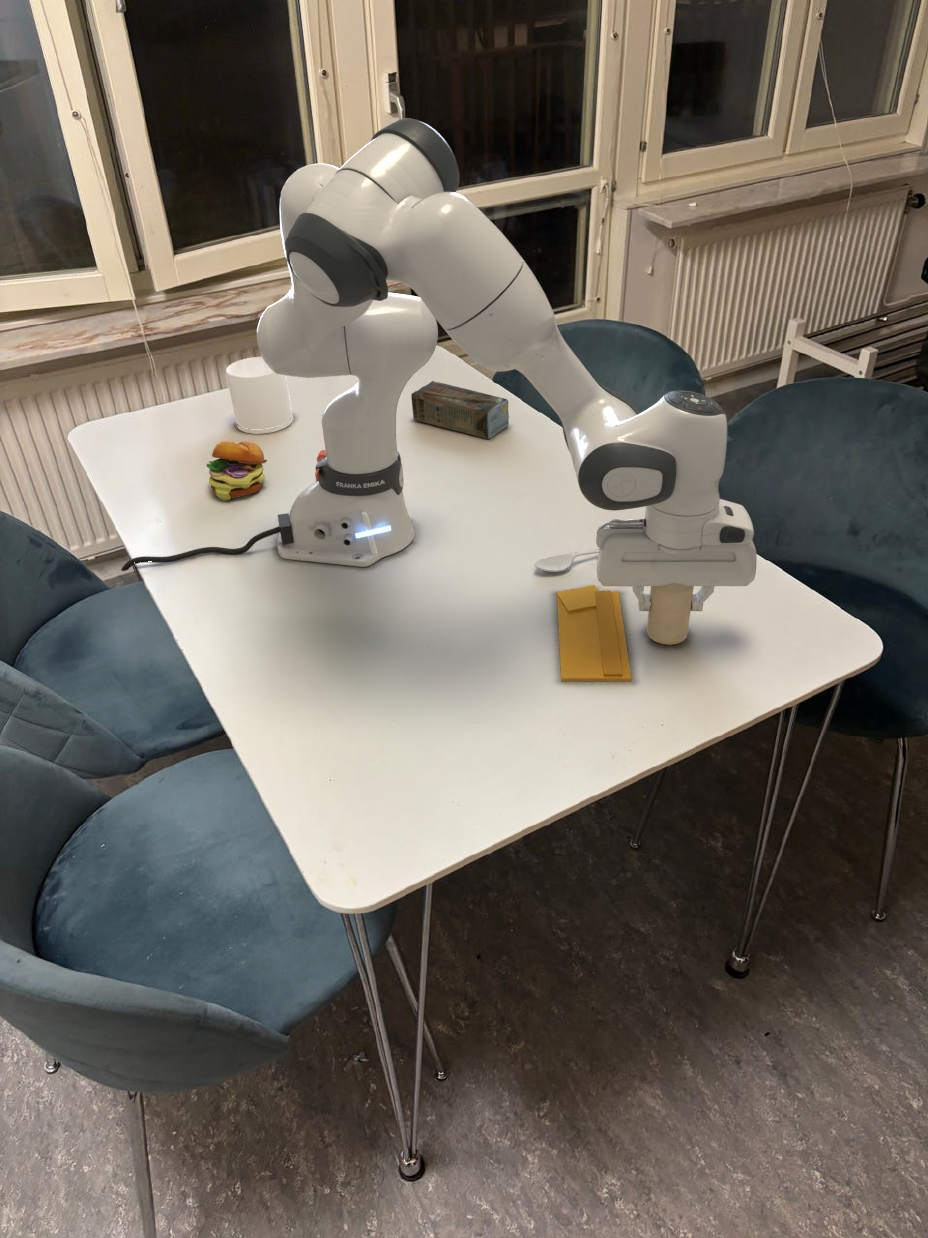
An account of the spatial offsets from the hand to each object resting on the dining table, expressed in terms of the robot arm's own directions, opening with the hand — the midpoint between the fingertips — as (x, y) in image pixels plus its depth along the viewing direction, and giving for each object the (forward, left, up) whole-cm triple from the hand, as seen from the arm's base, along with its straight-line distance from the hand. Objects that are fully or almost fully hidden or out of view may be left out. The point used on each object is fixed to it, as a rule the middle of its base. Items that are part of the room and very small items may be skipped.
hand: (670, 608), depth 122 cm
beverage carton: (-33, +72, -5) cm, 79 cm away
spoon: (-9, +20, -5) cm, 22 cm away
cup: (-74, +74, -5) cm, 105 cm away
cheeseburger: (-72, +45, -5) cm, 85 cm away
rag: (-10, 0, -5) cm, 11 cm away
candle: (0, 0, -4) cm, 4 cm away
